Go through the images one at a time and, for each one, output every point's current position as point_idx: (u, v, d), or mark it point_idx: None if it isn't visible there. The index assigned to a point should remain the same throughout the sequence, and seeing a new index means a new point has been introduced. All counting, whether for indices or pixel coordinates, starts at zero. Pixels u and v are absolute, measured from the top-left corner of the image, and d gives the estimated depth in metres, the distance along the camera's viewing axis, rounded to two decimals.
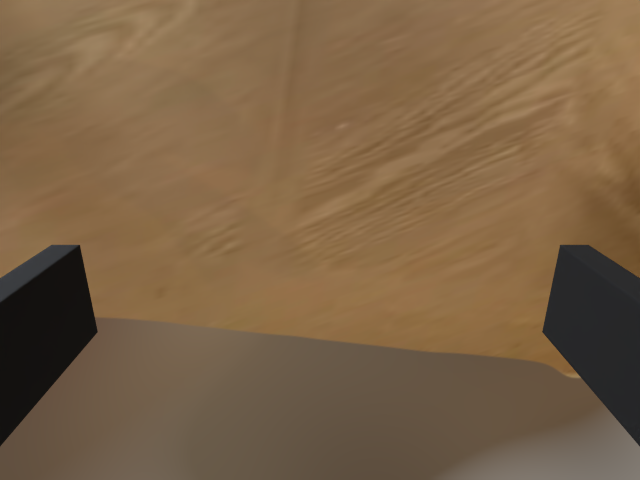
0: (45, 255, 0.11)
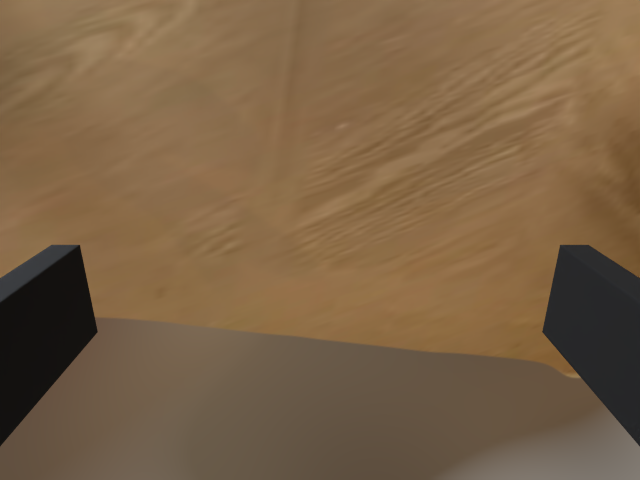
0: (45, 255, 0.11)
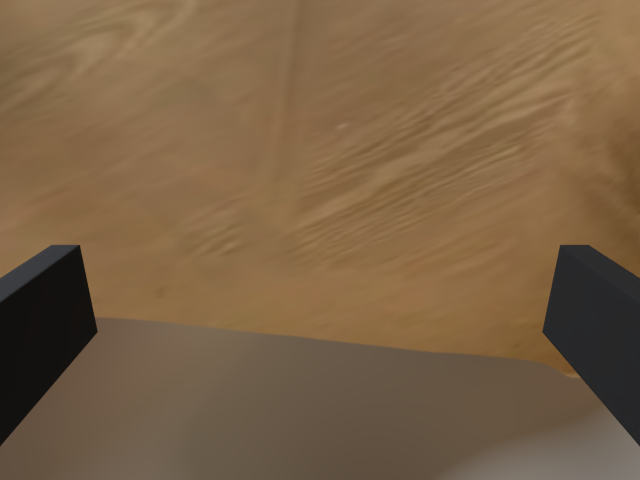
0: (45, 255, 0.11)
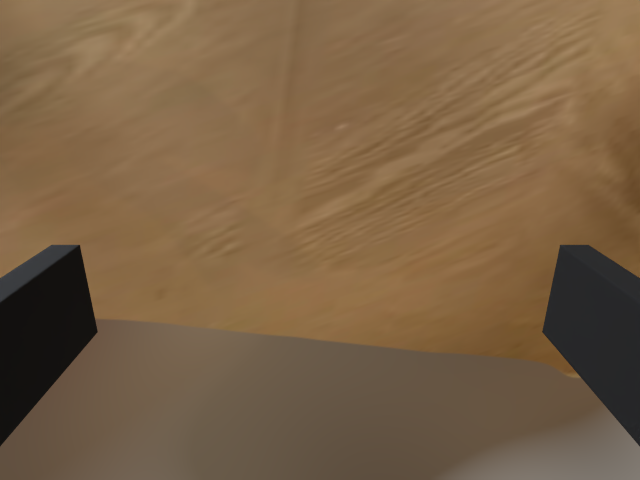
0: (44, 255, 0.11)
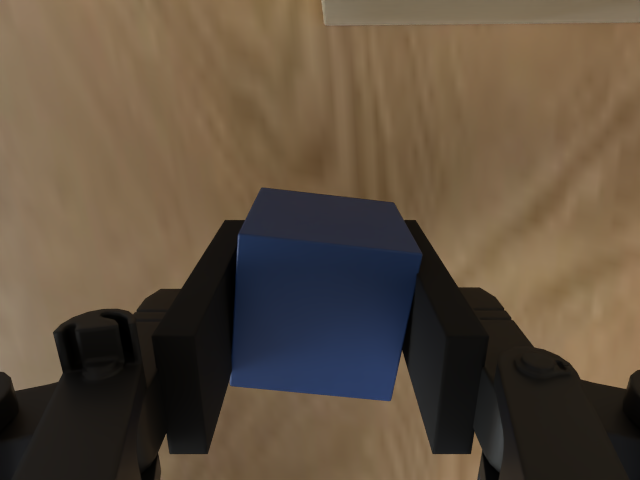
0: (227, 227, 0.13)
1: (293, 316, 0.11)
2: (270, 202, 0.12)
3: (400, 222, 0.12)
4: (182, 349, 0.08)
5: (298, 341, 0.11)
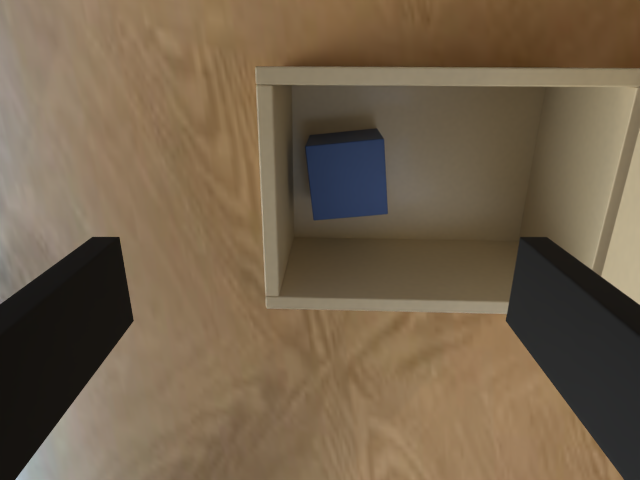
0: (88, 245, 0.12)
1: (335, 179, 0.24)
2: (315, 137, 0.26)
3: (377, 133, 0.25)
4: None
5: (339, 191, 0.24)
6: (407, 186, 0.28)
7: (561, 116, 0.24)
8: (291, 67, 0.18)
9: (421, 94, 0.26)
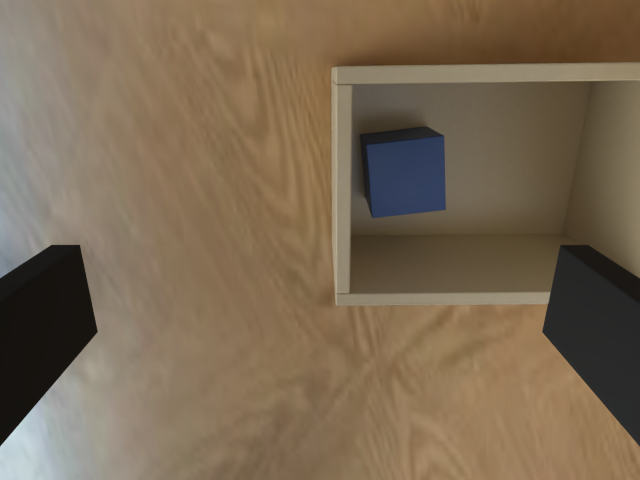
0: (45, 254, 0.11)
1: (395, 177, 0.25)
2: (369, 136, 0.26)
3: (432, 130, 0.26)
4: None
5: (399, 188, 0.25)
6: (454, 182, 0.29)
7: (612, 110, 0.25)
8: (371, 66, 0.19)
9: (470, 91, 0.27)
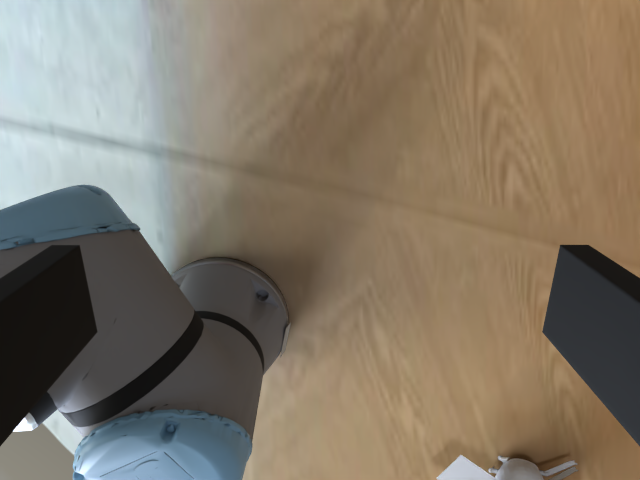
0: (44, 255, 0.11)
1: None
2: None
3: None
4: None
5: None
6: None
7: None
8: None
9: None
